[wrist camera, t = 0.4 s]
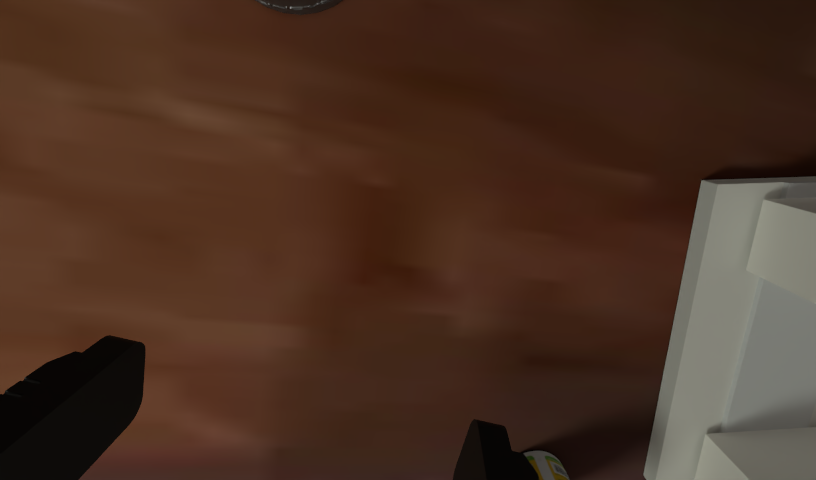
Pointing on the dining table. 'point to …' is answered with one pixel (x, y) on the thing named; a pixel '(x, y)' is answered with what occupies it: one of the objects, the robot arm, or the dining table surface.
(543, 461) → the supplement bottle
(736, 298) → the rail panel
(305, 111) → the dining table surface
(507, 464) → the robot arm
